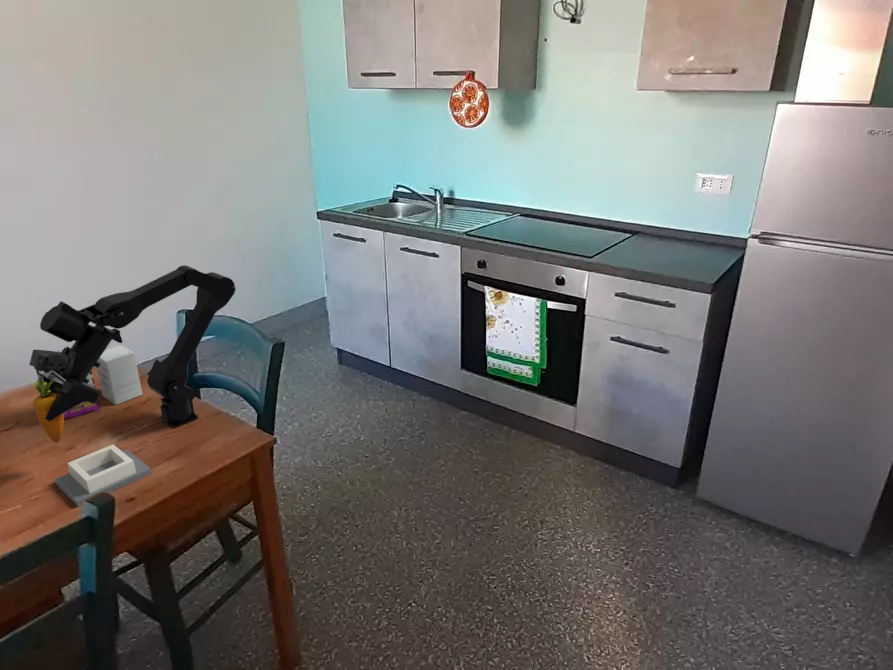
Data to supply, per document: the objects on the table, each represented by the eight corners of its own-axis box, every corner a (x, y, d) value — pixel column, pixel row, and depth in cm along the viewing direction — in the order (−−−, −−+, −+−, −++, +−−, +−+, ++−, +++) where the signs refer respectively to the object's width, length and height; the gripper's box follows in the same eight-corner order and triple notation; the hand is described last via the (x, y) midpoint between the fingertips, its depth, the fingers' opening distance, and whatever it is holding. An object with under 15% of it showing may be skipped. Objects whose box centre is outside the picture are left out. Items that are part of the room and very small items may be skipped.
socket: (127, 453, 142) (124, 437, 140) (151, 473, 136) (148, 456, 134) (55, 484, 132) (51, 467, 130) (78, 506, 125) (73, 489, 123)
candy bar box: (96, 402, 163) (83, 344, 156) (101, 410, 159) (88, 351, 153) (47, 415, 156) (31, 356, 150) (50, 424, 153) (34, 363, 146)
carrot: (46, 438, 136) (29, 376, 130) (72, 434, 138) (57, 373, 132) (42, 450, 132) (24, 387, 126) (69, 446, 134) (53, 384, 128)
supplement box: (129, 386, 171) (121, 344, 166) (143, 395, 167) (135, 351, 162) (101, 396, 166) (92, 352, 161) (115, 405, 162) (105, 361, 157)
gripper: (33, 322, 133) (-12, 387, 130) (70, 347, 123) (21, 418, 119) (80, 345, 142) (39, 406, 139) (119, 369, 131) (75, 436, 128)
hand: (42, 416), depth 131 cm, fingers closed on carrot, 5 cm apart
